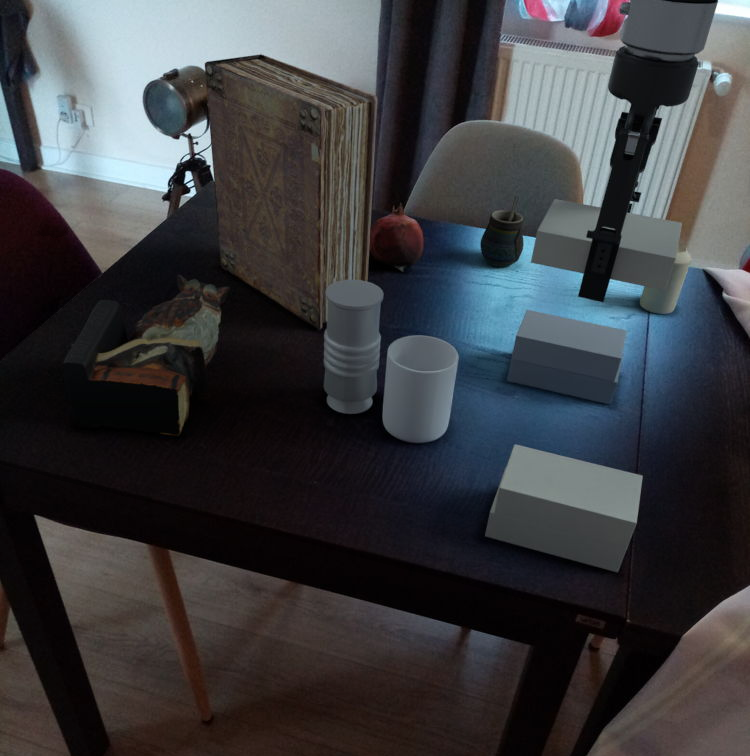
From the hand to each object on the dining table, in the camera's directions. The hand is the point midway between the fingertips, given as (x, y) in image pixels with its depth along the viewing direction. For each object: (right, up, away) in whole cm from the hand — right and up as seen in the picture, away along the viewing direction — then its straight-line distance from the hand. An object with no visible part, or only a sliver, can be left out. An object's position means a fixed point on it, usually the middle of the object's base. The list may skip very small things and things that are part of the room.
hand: (598, 277), depth 86 cm
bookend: (-52, -9, +16) cm, 55 cm away
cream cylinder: (+21, +6, +39) cm, 45 cm away
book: (-38, +8, +36) cm, 53 cm away
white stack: (-5, -28, -2) cm, 28 cm away
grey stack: (+1, -8, +21) cm, 23 cm away
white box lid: (0, +2, -1) cm, 2 cm away
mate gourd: (-3, +16, +48) cm, 51 cm away
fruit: (-21, +15, +45) cm, 52 cm away
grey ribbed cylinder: (-28, -12, +14) cm, 34 cm away
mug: (-19, -14, +12) cm, 27 cm away
